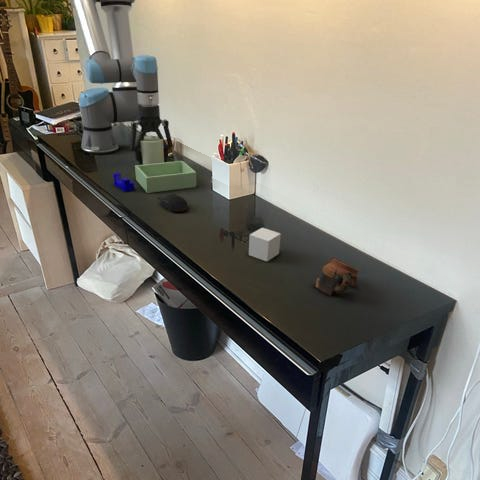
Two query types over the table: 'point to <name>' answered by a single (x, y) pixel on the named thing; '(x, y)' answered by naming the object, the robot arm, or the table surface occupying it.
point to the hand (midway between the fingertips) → (152, 167)
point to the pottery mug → (339, 284)
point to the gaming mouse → (174, 203)
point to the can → (152, 150)
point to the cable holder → (123, 183)
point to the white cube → (264, 244)
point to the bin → (165, 176)
